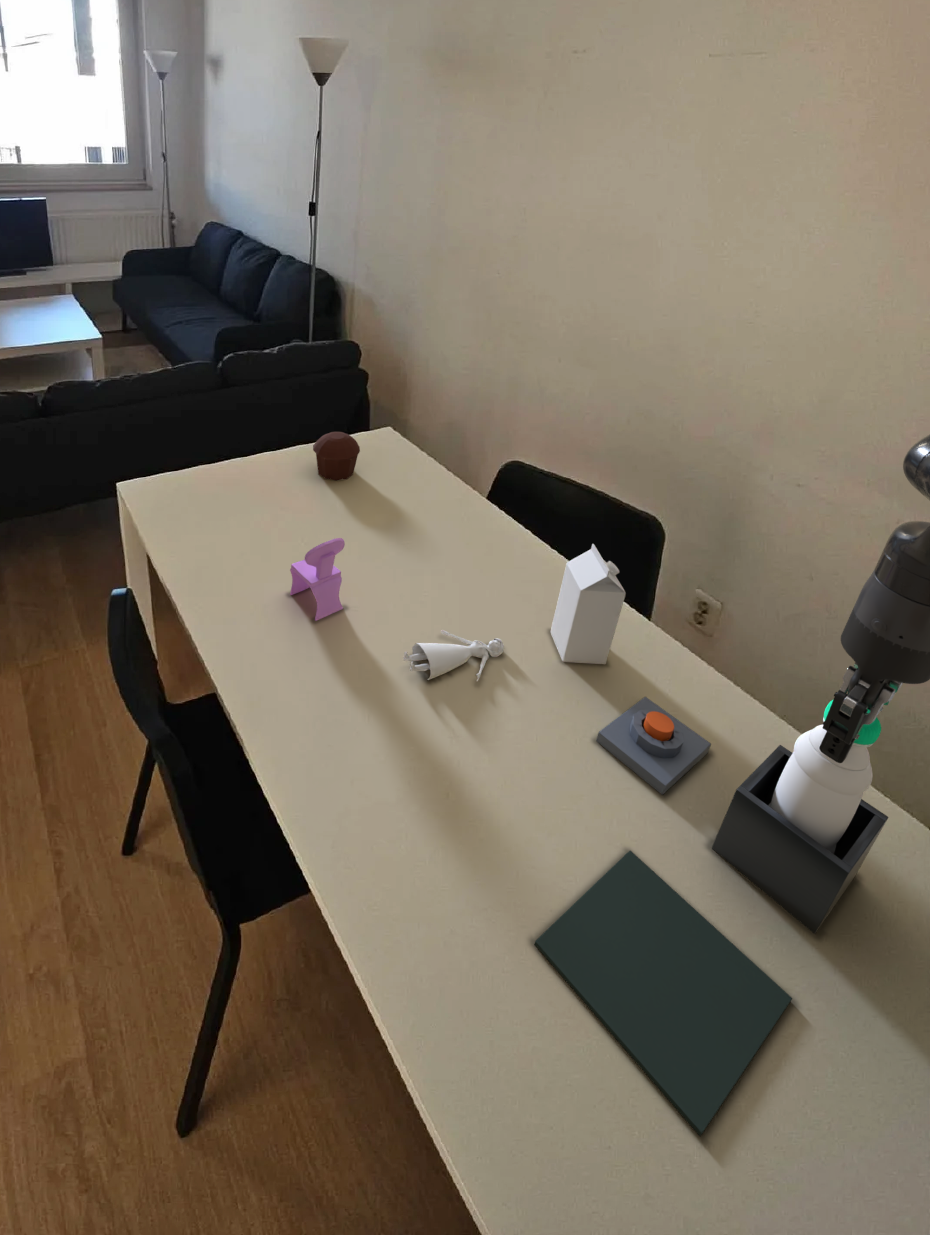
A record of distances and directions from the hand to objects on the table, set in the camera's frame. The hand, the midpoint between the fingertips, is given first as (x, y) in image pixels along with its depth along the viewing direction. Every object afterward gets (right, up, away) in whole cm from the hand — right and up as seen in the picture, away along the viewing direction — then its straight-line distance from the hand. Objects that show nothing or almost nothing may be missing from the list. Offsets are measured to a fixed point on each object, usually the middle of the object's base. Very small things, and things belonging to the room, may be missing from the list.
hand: (841, 743), depth 75 cm
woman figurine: (-35, -5, +37) cm, 51 cm away
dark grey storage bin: (-1, -19, +8) cm, 21 cm away
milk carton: (-13, -5, +41) cm, 43 cm away
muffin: (-52, +20, +93) cm, 109 cm away
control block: (-9, -12, +23) cm, 27 cm away
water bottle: (-1, -19, +8) cm, 21 cm away
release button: (-9, -9, +21) cm, 25 cm away
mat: (-22, -23, -3) cm, 32 cm away
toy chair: (-57, +1, +49) cm, 75 cm away
